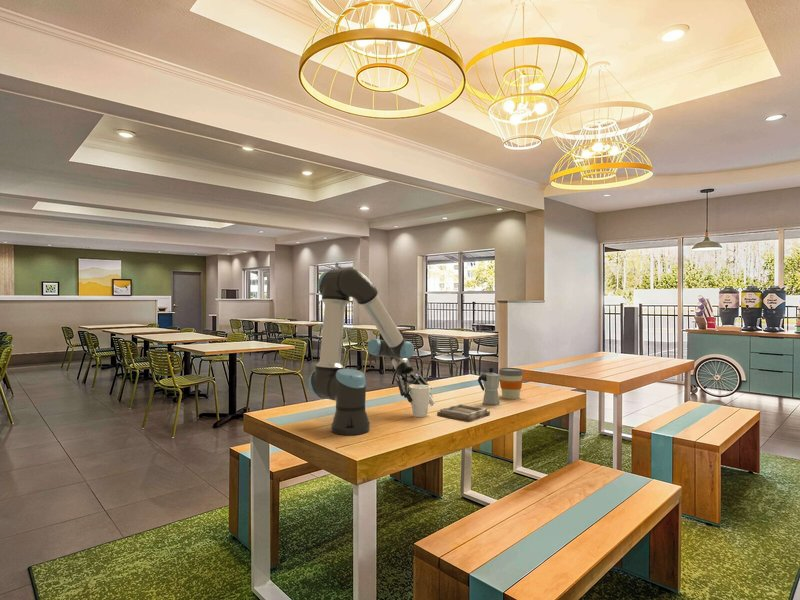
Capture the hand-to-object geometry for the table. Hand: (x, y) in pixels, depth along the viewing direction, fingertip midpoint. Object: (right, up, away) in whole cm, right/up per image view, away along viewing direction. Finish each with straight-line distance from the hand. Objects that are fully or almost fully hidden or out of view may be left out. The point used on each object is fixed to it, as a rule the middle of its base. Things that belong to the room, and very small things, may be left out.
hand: (424, 405), depth 202 cm
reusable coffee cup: (+49, -6, +44) cm, 66 cm away
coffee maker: (+34, -5, +28) cm, 44 cm away
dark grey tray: (+18, -5, +3) cm, 19 cm away
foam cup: (-2, -5, +2) cm, 6 cm away
